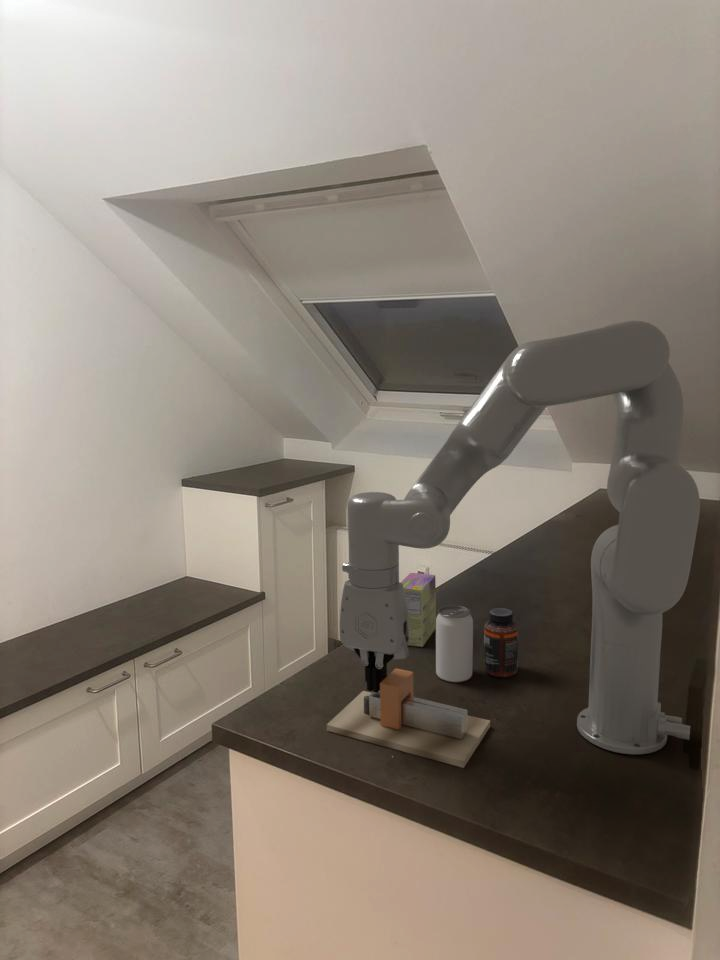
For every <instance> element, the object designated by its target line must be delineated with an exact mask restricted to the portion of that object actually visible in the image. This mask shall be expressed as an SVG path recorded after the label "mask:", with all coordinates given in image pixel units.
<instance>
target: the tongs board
mask: <svg viewBox="0 0 720 960" xmlns="http://www.w3.org/2000/svg"><path fill="white" fill-rule="evenodd" d="M371 693H372V692H371V691H365V690H362V691H361V692H360V693H359V694H357V696H356V697H355V698H353V700H351V702H349V703H348V704H347V705H346V706H345V707H343V708H342V709H341V710H340V712H339V713H337V714H336V715H335V716H334V717H333V718H332V719H331V720H330V721H329V722H328V723H326V731H327V732H331V733H334V734H338V735H341V736H344V737H345V736H346V737H349V738H351V739H356V740H360V741H364V742H367V743H371V744H375V745H377V746H378V745H379V746H382V747H386V748H388V749H392V750H396V751H401V752H403V753H408V754H410V755H415V756H419V757H422V758H426V759H430V760H433V761H436V762H441V763H445V764H447V765H451V766H455V767H457V768H463V769H464V768H465V766H466V765H467V763H468V762H469V761H470V759H471V757H472V755H473V754H474V753H475V751H476V749H477V748H478V747H479V745H480V743H481V742H482V740H483V739H484V737H485V736H486V734H487V733H488V731H489V730H490V728H491V720H490V719H485V718H480V717H476V716H472V715H468V714H467V732H466V733H465V735H464V736H463V738H462V739H459V738H455V737H451V736H447V735H443V734H439V733H435V732H431V731H427V730H423V729H419V728H415V727H411V726H407V725H403V724H401V727H400V729H399V730H398V729H394V728H390V727H386V726H383V725H381V719H379V718H375V717H371V716H369V695H370V694H371Z"/></svg>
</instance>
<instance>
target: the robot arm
mask: <svg viewBox="0 0 720 960" xmlns="http://www.w3.org/2000/svg"><path fill="white" fill-rule="evenodd" d="M670 354H671V353H670V346H669V341H668V339H667V338H666V335H665V334H664V333H663V332H662V330H660V329H659V328H658V327H657V326H655V325H654V324H651V323H650V322H646V321H642V320H628V321H623V322H615V323H612V324H608V325H604V327H599V328H595V329H590V330H586V331H585V330H584V331H582V332H578V333H573V334H569V335H568V334H567V335H564V336H563V335H562V336H557V337H551V338H545V339H539V340H531V341H527V342H524V343H522V344H520V345H518V346H517V347H516V348H514V349H513V351H511V352H510V354H508V356H507V357H506V359H505V360H504V361H503V363H501V365H500V367H499V368H498V369H497V371H496V373H495V374H494V375H493V376H492V377H491V379H490V381H489V382H488V383H487V384H486V386H485V387H484V389H483V390H482V391H481V392H480V394H479V395H478V396H477V398H476V399H475V400H474V402H473V403H472V405H471V406H470V407H469V409H468V410H467V411H466V412H465V414H464V415H463V416H462V418H461V419H460V421H459V422H458V423H457V424H456V426H455V428H454V429H453V430H452V432H451V433H450V434H449V437H448V438H447V440H445V443H444V445H442V447H440V449H439V451H438V452H437V453H436V454H435V456H434V457H433V459H432V460H431V461H430V462H429V464H428V465H427V466H426V468H425V469H424V471H423V472H422V473H421V475H420V476H419V477H418V478H417V480H416V481H415V483H414V484H413V485H412V487H411V488H410V489H409V491H408V492H407V493H406V495H405V497H404V499H397V498H396V497H395V496H394V495H393V494H390V493H387V492H379V491H372V492H371V491H370V492H369V491H368V492H367V491H366V492H361V493H357V494H355V495H353V496H352V497H351V496H350V498H349V500H348V502H347V529H348V530H347V531H348V533H347V534H348V537H347V538H348V562H347V563H346V562H344V563H343V564H342V566H341V569H342V570H341V571H342V572H343V573H347V574H348V575H347V576H348V577H347V578H348V580H346V581H345V582H344V584H343V589H342V593H341V595H342V596H341V601H340V602H341V603H340V608H339V609H340V611H339V640H340V642H341V643H342V644H343V647H345V648H346V649H349V650H351V651H352V652H355V654H356V655H357V656H358V657H359V658H360V663H361V665H363V666H364V674H365V675H364V677H365V678H364V679H365V683H366V690H367V692H371V691H373V693H374V692H376V693H377V692H378V691H379V690H380V683H381V682H382V681H383V680H384V679H385V678H386V677H387V676H388V673H387V672H388V667H387V666H388V663H390V662H391V661H392V660H404V659H406V658H407V657H408V656H409V654H410V652H409V648H408V645H407V643H408V641H409V618H408V608H407V601H406V596H405V591H404V587H403V584H402V583H401V581H400V552H399V550H400V549H399V548H400V546H402V547H407V548H413V549H424V550H425V549H431V548H435V547H437V546H439V545H441V543H442V542H444V541H445V540H446V539H447V537H448V534H449V532H450V527H451V515H452V513H453V512H455V510H456V508H457V507H458V505H459V504H460V503H461V501H462V500H463V499H464V498H465V496H466V495H467V494H468V493H469V491H470V490H471V489H472V488H473V487H474V485H475V484H476V483H477V482H478V481H479V480H480V479H481V478H482V477H483V476H484V475H485V474H487V473H488V472H490V471H491V470H494V469H495V468H497V467H499V466H500V465H501V464H503V462H505V461H506V460H507V459H508V458H509V456H510V455H511V454H512V452H513V451H514V450H515V449H516V447H517V446H519V443H520V442H521V440H522V439H523V438H524V436H526V435H527V432H528V431H529V430H530V429H531V427H532V426H533V424H534V423H536V421H537V420H538V419H539V417H540V416H541V415H542V414H543V412H544V411H545V410H546V408H547V407H550V406H551V407H552V406H558V405H564V404H569V403H576V402H582V401H587V400H591V399H596V398H601V397H607V396H610V395H612V396H613V398H614V401H615V409H616V417H615V418H616V419H615V420H616V421H615V435H614V439H613V440H614V441H613V446H612V447H613V448H612V455H611V461H610V466H609V467H610V468H609V472H608V477H607V485H606V491H607V496H608V499H609V501H610V503H611V505H612V506H613V507H614V508H615V509H616V510H617V512H619V516H618V517H619V518H618V524H615V525H613V526H611V527H609V528H607V529H606V530H604V531H603V532H602V533H601V534H600V535H598V536H599V537H597V538H596V541H595V543H594V544H593V547H592V551H591V557H590V571H591V572H590V573H591V590H592V591H591V592H592V593H591V594H592V608H591V609H592V611H591V612H592V616H591V617H592V618H591V631H590V632H591V633H590V634H591V635H590V637H591V638H590V639H591V640H590V660H589V680H588V681H589V682H588V683H589V687H588V707H586V708H584V709H583V710H581V711H580V712H579V713H578V715H577V718H576V727H577V730H578V732H579V733H580V735H581V736H583V738H584V739H585V740H587V741H588V742H589V743H591V744H593V745H595V746H597V747H599V748H602V749H604V750H606V751H611V752H614V753H618V754H619V753H620V754H624V755H646V754H648V755H649V754H652V753H655V752H657V751H659V750H661V749H663V747H665V746H666V744H667V740H668V736H672V737H675V738H678V739H683V740H688V741H690V738H691V737H690V735H691V725H689V724H688V725H687V724H683V717H680V716H676V715H675V716H674V715H668V714H665V712H663V711H661V708H662V704H661V702H658V698H659V684H660V682H659V679H660V665H661V648H662V638H663V637H662V636H663V613H665V612H668V611H669V610H670V609H672V608H673V607H675V605H676V604H677V603H678V602H679V601H680V599H681V598H682V597H683V594H684V592H685V590H686V587H687V585H688V581H689V577H690V572H691V566H692V561H693V555H694V549H695V543H696V537H697V532H698V531H697V530H698V525H699V519H700V511H701V508H700V507H701V500H700V493H699V489H698V486H697V483H696V482H695V479H694V478H693V476H692V475H691V474H690V472H688V470H687V469H686V468H684V467H683V466H682V465H680V453H681V452H680V450H681V444H682V443H681V442H682V432H683V431H682V430H683V424H684V398H683V391H682V387H681V386H680V385H681V384H680V382H679V379H678V377H677V375H676V373H675V370H674V369H673V367H672V366H671V364H670V363H669V360H670V356H671V355H670Z"/></svg>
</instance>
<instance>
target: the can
mask: <svg viewBox="0 0 720 960" xmlns="http://www.w3.org/2000/svg"><path fill="white" fill-rule="evenodd" d="M471 613H472V612H471V609H469V608H467V607H465V606H461V605H447V606H442V607H440V608H439V609H438V614H437V615H436V629H435V673H436V675H437V677H438V678H439V679H440V680H442V681H444V682H449V683H464V682H466V681H468V680H470V679H471V677H472V676H473V671H474V670H473V669H474V668H473V667H474V666H473V665H474V663H473V661H474V659H473V658H474V655H473V654H474V620H473V617H472V615H471Z"/></svg>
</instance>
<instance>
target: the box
mask: <svg viewBox="0 0 720 960" xmlns="http://www.w3.org/2000/svg"><path fill="white" fill-rule="evenodd" d="M436 581H437V580H436V574H431V573H429V574H428V573H419V572H410V573H408V575H406V577H405V578H404V579H403V580H401V581H400V583H402V584H403V587H404V591H405V596H406V601H407V608H408V618H409V641H408V643H407V646H410V647H420V648H423V647H424V646H425V644H426V643H427V641H428V640H429V638H430V637H431V636H432V634H433V633H434V632H435V631H436V618H437V605H436V604H437V598H436V597H437V594H436V593H437V590H436V585H437V584H436Z"/></svg>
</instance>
